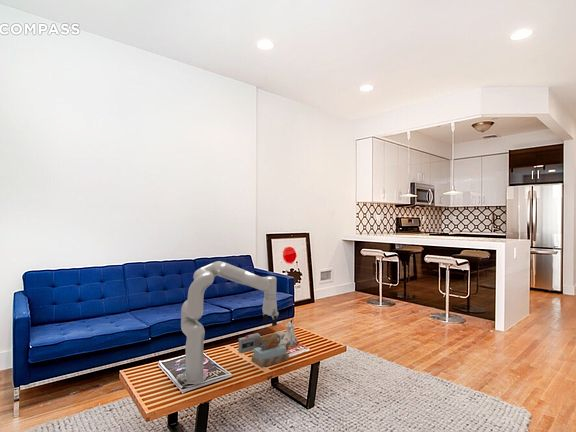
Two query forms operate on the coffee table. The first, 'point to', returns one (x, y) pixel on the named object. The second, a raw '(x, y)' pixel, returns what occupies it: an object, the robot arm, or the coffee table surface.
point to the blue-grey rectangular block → (269, 352)
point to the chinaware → (288, 336)
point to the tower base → (270, 360)
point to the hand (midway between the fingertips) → (269, 323)
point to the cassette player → (248, 343)
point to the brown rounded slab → (269, 341)
